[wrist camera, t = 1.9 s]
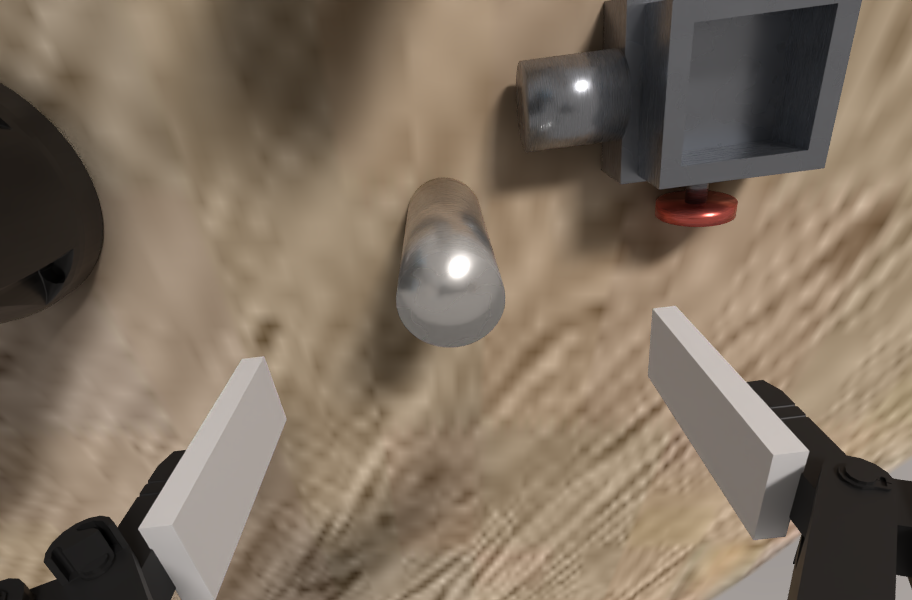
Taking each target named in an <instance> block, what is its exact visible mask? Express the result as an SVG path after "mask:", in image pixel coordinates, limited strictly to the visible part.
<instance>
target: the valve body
mask: <svg viewBox="0 0 912 600" xmlns="http://www.w3.org/2000/svg"><path fill="white" fill-rule="evenodd" d="M861 2H862V0H609V1H605V2H604V47H603V50H598V51H590V52H583V53H576V54H568V55H561V56H553V57H546V58H538V59H531V60H523V61H519V63H518V66H517V74H516V103H517V116H518V124H519V131H520V137H521V141H522V145H523V148H524V150H525V152H533V151H541V150H548V149H556V148H564V147H571V146H579V145H586V144H594V143H602V165H601V170H602V171H603V172H605V173H606V174H607V175H609V176H610V177H611V178H613V179H614V180H615V181H617V182H618V183H619V184H627V183H635V182H643V181H647V182H649V183H650V184H652V185H653V186H655V187H656V188H658V189H666V188H674V187H682V186H686V191H677V192H672V193H668V194H665V195H662V196H660V197H659V198H657V200H656V208H655V216H656V217H657V218H658V219H659V220H661V221H663V222H666V223H669V224H673V225H679V226H688V227H706V226H715V225H720V224H724V223H727V222H730V221H732V220H733V219H734V218H735V216H736V211H737V204H738V201H737V199H736V198H735V197H733V196H731V195H728V194H725V193H721V192H715V191H708V187H709V183H713V182H721V181H728V180H736V179H744V178H751V177H759V176H767V175H775V174H782V173H790V172H798V171H806V170H813V169H821V168H824V167H825V163H826V158H827V154H828V149H829V145H830V140H831V136H832V132H833V127H834V123H835V118H836V114H837V109H838V105H839V100H840V96H841V91H842V87H843V82H844V78H845V74H846V69H847V65H848V60H849V56H850V51H851V47H852V42H853V38H854V33H855V29H856V24H857V20H858V16H859V11H860V7H861Z"/></svg>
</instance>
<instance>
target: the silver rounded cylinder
mask: <svg viewBox="0 0 912 600" xmlns="http://www.w3.org/2000/svg"><path fill="white" fill-rule="evenodd" d="M396 305H397V310H398V314H399V316H400V319H401V321H402V322H403V324H404V326H405V327H406V328H407V329H408V330H409V331H410V332H411V333H412V334H413V335H414V336H416V337H417V338H418V339H420V340H422V341H424V342H426V343H429V344H431V345H435V346H440V347H460V346H465V345H468V344H471V343H473V342H476V341H478V340H480V339H481V338H483V337H484V336H486V335H487V334H488V333H489V332H490V331H491V330H492V329H493V328H494V327H495V326H496V325H497V323H498V321H499V320H500V318H501V316H502V313H503V310H504V306H505V290H504V286H503V283H502V279H501V276H500V273H499V269H498V266H497V263H496V259H495V256H494V252H493V249H492V246H491V242H490V239H489V236H488V232H487V229H486V226H485V222H484V219H483V215H482V212H481V209H480V205H479V202H478V199H477V197H476V195H475V194H474V192H473V191H472V190H471V189H470V188H469V187H468V186H467V185H466V184H464V183H462V182H460V181H458V180H455V179H452V178H437V179H433V180H430V181H428V182H426V183H424V184H423V185H421V186H420V187H419V188H418V189H417V190H416V191H415V193H414V194H413V196H412V198H411V200H410V203H409V206H408V213H407V220H406V228H405V235H404V243H403V250H402V257H401V265H400V272H399V279H398V287H397V294H396Z"/></svg>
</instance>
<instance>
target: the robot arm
mask: <svg viewBox="0 0 912 600" xmlns="http://www.w3.org/2000/svg"><path fill="white" fill-rule="evenodd" d="M102 236H103V223H102V214H101V209H100V204H99V201H98V197H97V194H96V191H95V188H94V186H93V183H92V181H91V179H90V177H89V175H88V173H87V171H86V169H85V167H84V165H83V164H82V162H81V160H80V158H79V157H78V155H77V154H76V152H75V151H74V149H73V148H72V147H71V145H70V144H69V143H68V141H67V140H66V139H65V138H64V137H63V135H62V134H61V133H60V132H59V131H58V130H57V129H56V128H55V126H54V125H53V124H52V123H51V122H50V121H49V120H48V119H47V118H46V117H45V116H44V115H43V114H41V113H40V112H39V111H38V110H37V109H36V108H35V107H33V106H32V105H31V104H30V103H28V102H27V101H26V100H25V99H23V98H22V97H21V96H19V95H18V94H16V93H15V92H14V91H12V90H11V89H9V88H7V87H6V86H4V85H3V84H1V83H0V323H4V322H8V321H12V320H16V319H21V318H24V317H27V316H30V315H32V314H35V313H37V312H39V311H42V310H44V309H46V308H47V307H49V306H51V305H52V304H54V303H55V302H57V301H58V300H60V299H61V298H63V297H64V296H66V295H67V294H68V293H70V292H71V291H73V290H74V289H75V288H77V287H78V286H79V285H80V284H81V283H82V282H83V281H84V280H85V279H86V278H87V277H88V275H89V274H90V272H91V271H92V269H93V268H94V266H95V264H96V262H97V259H98V256H99V253H100V249H101V244H102ZM648 377H649V378H650V380H651V382H652V383H653V385H654V386H655V388H656V389H657V391H658V392H659V394H660V396H661V397H662V399H663V400H664V402H665V403H666V405H667V406H668V408H669V410H670V411H671V413H672V414H673V416H674V417H675V419H676V420H677V422H678V424H679V425H680V427H681V428H682V430H683V431H684V433H685V434H686V436H687V438H688V439H689V441H690V442H691V444H692V445H693V447H694V448H695V450H696V452H697V453H698V455H699V456H700V458H701V459H702V461H703V462H704V464H705V466H706V467H707V469H708V470H709V472H710V473H711V475H712V476H713V478H714V480H715V481H716V483H717V484H718V486H719V487H720V489H721V490H722V492H723V494H724V495H725V497H726V498H727V500H728V501H729V503H730V504H731V506H732V508H733V509H734V511H735V512H736V514H737V515H738V517H739V518H740V520H741V522H742V523H743V525H744V526H745V528H746V529H747V531H748V532H749V534H750V536H751V537H752V539H753V540H759V539H768V538H777V537H785V536H786V533H787V530H788V526H789V522H790V519H791V520H792V522H793V523H794V524H795V526H796V527H797V528H798V530H799V531H800V532H801V534H802V535H801V538H800V541H799V545H798V548H797V551H796V555H795V558H794V561H793V564H795V565H794V570H793V575H792V580H791V585H790V590H789V594H788V599H787V600H895V588H896V575H900V576H906V577H908V579H909V582H910V585H911V588H912V481H905V480H898V479H893V478H892V477H891V476H890V475H889V474H888V473H887V472H886V471H885V470H883V469H882V468H880V467H879V466H877V465H876V464H873V463H871V462H868V461H866V460H864V459H861V458H857V457H852V456H847V455H846V454H845V453H844V452H843V451H842V450H841V449H840V448H839V447H838V446H837V445H836V444H835V443H834V442H833V441H832V440H831V439H830V438H829V437H828V436H827V435H826V434H825V433H824V432H823V431H822V430H821V429H820V428H819V427H818V426H817V425H816V424H815V423H814V422H813V421H812V420H811V419H810V418H809V417H806V414H805V413H804V412H803V411H802V410H801V409H800V408H799V407H798V406H795V403H794V402H793V401H792V400H791V399H790V398H789V397H788V396H787V395H786V394H785V393H784V392H783V391H782V390H780V389H778V388H776V387H774V386H773V385H771V384H769V383H767V382H765V381H764V380H759V381H751V382H745V380H744V379H743V378H742V377H741V376H740V375H739V374H738V373H737V372H736V371H735V370H734V369H733V367H732V366H731V365H730V364H729V363H728V362H727V361H726V360H725V359H724V358H723V357H722V356H721V354H720V353H719V352H718V351H717V350H716V349H715V348H714V347H713V346H712V345H711V344H710V342H709V341H708V340H707V339H706V338H705V337H704V336H703V335H702V334H701V333H700V332H699V331H698V329H697V328H696V327H695V326H694V325H693V324H692V323H691V322H690V321H689V320H688V319H687V318H686V316H685V315H684V314H683V313H682V312H681V311H680V310H679V309H678V308H677V307H676V306H669V307H661V308H653V310H652V324H651V338H650V352H649V366H648ZM286 420H287V419H286V416H285V413H284V410H283V407H282V405H281V402H280V399H279V396H278V393H277V391H276V388H275V385H274V382H273V379H272V377H271V374H270V371H269V368H268V365H267V363H266V360H265V357H264V356H263V357H254V358H246V359H242V360H241V361H240V363H239V365H238V366H237V368H236V370H235V371H234V373H233V375H232V376H231V378H230V379H229V381H228V383H227V384H226V386H225V388H224V389H223V391H222V393H221V394H220V396H219V397H218V399H217V401H216V402H215V404H214V406H213V407H212V409H211V410H210V412H209V414H208V415H207V417H206V419H205V420H204V422H203V424H202V425H201V427H200V428H199V430H198V432H197V433H196V435H195V437H194V438H193V440H192V442H191V443H190V445H189V446H188V448H187V450H182V451H174V452H173V453H172V454H171V455H169V456H168V457H167V458H166V459H165V460H164V461H163V462H162V463H161V464H159V465H158V467H157V468H156V470H155V471H154V473H153V474H152V476H151V477H150V479H149V480H148V484H146V485H145V486H144V488H143V489H142V491H141V492H140V496H139V497H137V499H136V500H135V502H134V503H133V505H132V506H131V508H130V509H129V511H128V512H127V514H126V515H125V517H124V518H123V520H122V521H121V523H120V524H119V526H118V528H117V526H116V525H115V523H114V522H113V521H112V520H111V518H110V517H105V516H97V517H92V518H88V519H86V520H83V521H81V522H79V523H77V524H75V525H73V526H72V527H70V528H69V529H67V530H66V531H64V532H63V533H62V534H61V535H60V536H59V537H58V538H57V539H56V540H55V541H53V542H52V544H51V545H50V547H49V548H48V550H47V552H46V553H45V558H44V563H45V564H46V566H47V567H48V568H49V570H50V571H51V572H52V573H53V575H54V576H55V577H56V578H57V579H56V580H53V581H50V582H48V583H45V584H43V585H40V586H37V587H35V588H32V589H29V588H28V587H27V586H26V585H25V584H24V583H23V582H22V581H21V580H20V579H11V578H8V579H5V580H2V581H0V600H171V598H172V596H173V594H174V591H175V590H176V591H177V593H178V595H179V596H180V598H181V600H215V599H216V597H217V594H218V592H219V589H220V587H221V584H222V582H223V579H224V577H225V574H226V572H227V569H228V567H229V564H230V562H231V559H232V556H233V554H234V551H235V549H236V546H237V544H238V541H239V539H240V536H241V534H242V531H243V529H244V526H245V524H246V521H247V518H248V516H249V513H250V511H251V508H252V506H253V503H254V501H255V498H256V496H257V493H258V491H259V488H260V486H261V483H262V480H263V478H264V475H265V473H266V470H267V468H268V465H269V463H270V460H271V458H272V455H273V453H274V450H275V448H276V445H277V442H278V440H279V437H280V435H281V432H282V430H283V427H284V425H285V422H286Z"/></svg>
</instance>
